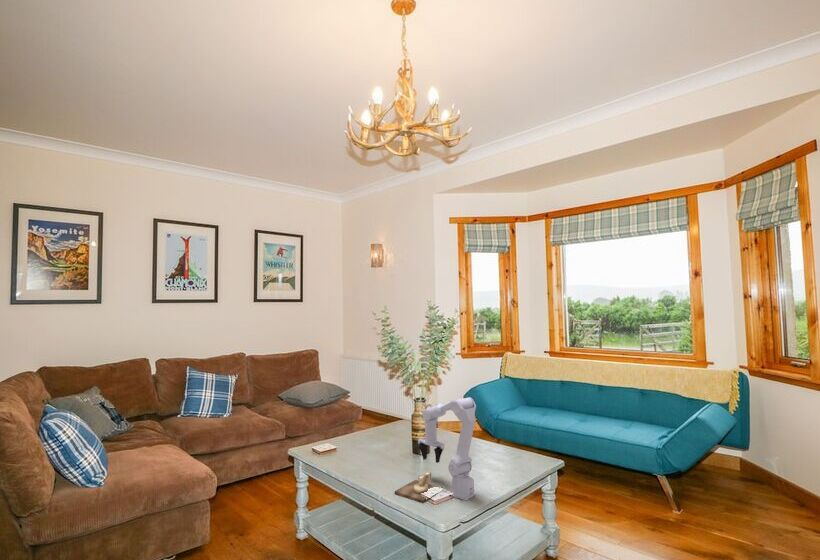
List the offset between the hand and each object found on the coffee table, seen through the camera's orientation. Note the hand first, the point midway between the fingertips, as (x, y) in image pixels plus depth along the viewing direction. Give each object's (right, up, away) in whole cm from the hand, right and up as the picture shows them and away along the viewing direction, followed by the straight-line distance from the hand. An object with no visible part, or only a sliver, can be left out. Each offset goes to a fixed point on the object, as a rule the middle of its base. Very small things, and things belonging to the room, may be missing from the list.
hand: (431, 460), depth 221 cm
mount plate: (-6, -9, -14) cm, 18 cm away
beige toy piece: (-4, -8, -14) cm, 17 cm away
